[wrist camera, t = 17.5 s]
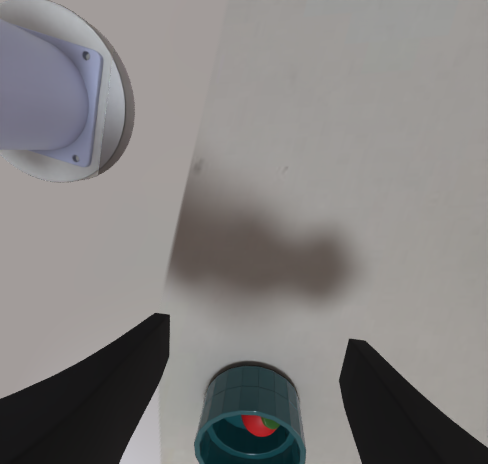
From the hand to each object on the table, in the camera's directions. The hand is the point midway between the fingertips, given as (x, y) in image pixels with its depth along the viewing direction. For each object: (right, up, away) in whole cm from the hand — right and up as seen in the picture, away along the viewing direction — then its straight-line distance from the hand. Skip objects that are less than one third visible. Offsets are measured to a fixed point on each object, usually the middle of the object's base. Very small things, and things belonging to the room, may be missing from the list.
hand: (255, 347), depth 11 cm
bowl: (0, -10, +13) cm, 16 cm away
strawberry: (0, -10, +12) cm, 16 cm away
